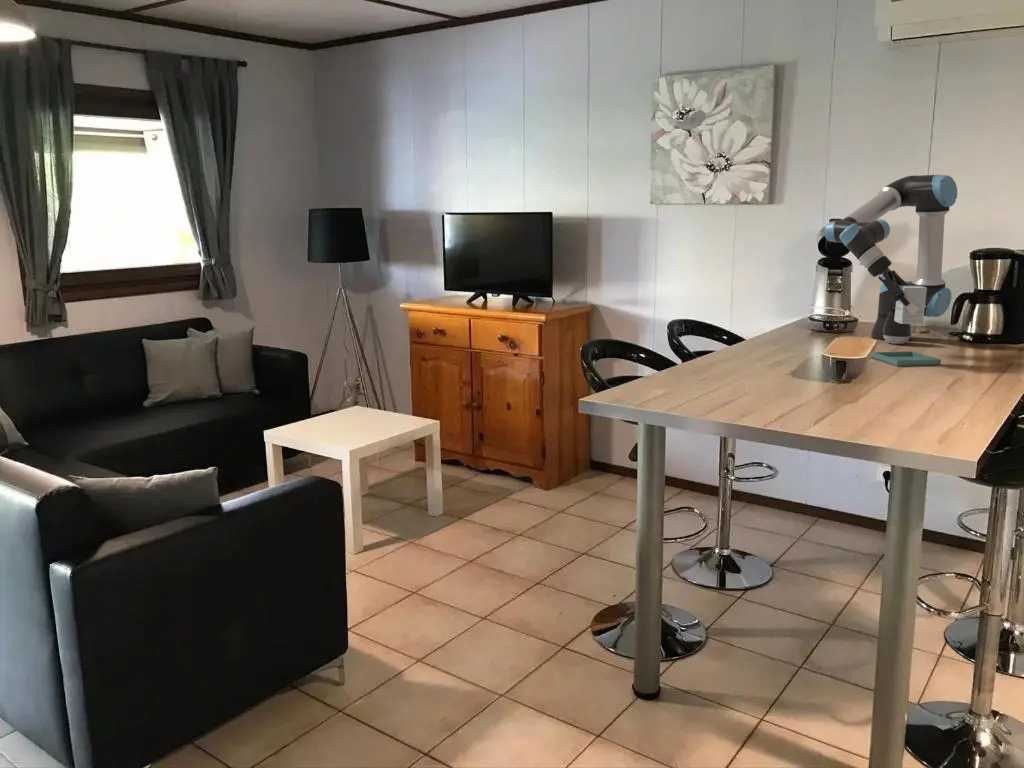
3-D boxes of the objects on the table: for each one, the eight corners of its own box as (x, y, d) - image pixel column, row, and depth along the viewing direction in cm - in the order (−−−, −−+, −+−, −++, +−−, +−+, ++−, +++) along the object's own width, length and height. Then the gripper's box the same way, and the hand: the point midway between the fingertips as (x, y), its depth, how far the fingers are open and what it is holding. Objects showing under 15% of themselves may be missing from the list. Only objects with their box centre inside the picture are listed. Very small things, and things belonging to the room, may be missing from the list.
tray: (870, 357, 298) (871, 352, 298) (912, 356, 300) (912, 351, 300) (896, 366, 283) (897, 360, 282) (940, 365, 285) (941, 359, 284)
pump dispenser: (875, 342, 331) (879, 304, 328) (894, 340, 336) (898, 303, 332) (896, 346, 322) (900, 307, 319) (915, 344, 327) (920, 305, 323)
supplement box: (915, 321, 292) (919, 285, 289) (923, 324, 285) (927, 287, 282) (893, 321, 292) (897, 285, 290) (900, 324, 285) (904, 287, 283)
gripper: (875, 267, 303) (918, 314, 296) (857, 271, 285) (901, 321, 279) (892, 253, 298) (936, 300, 292) (875, 256, 281) (920, 306, 275)
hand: (919, 310), depth 286 cm, fingers closed on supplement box, 10 cm apart
